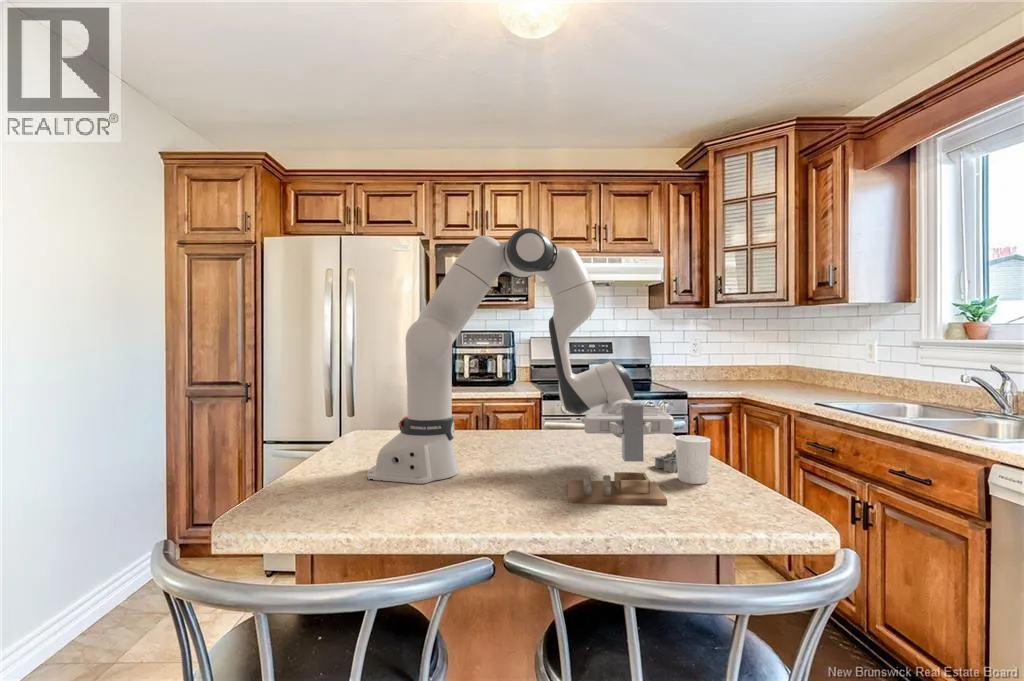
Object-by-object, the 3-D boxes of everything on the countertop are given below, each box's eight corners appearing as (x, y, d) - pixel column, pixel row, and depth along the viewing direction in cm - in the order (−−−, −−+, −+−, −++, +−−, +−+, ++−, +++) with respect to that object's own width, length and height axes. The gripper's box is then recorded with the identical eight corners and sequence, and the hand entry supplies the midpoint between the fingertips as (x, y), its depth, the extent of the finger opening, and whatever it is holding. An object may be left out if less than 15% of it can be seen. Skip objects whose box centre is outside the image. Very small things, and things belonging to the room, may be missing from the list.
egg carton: (682, 463, 138) (682, 448, 138) (702, 470, 131) (702, 454, 131) (649, 466, 134) (650, 451, 134) (668, 474, 127) (668, 457, 127)
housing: (568, 502, 105) (568, 477, 105) (566, 485, 117) (566, 462, 117) (667, 504, 104) (667, 479, 103) (655, 486, 116) (655, 464, 115)
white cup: (715, 485, 117) (715, 441, 117) (681, 485, 117) (681, 442, 117) (703, 475, 125) (703, 435, 124) (671, 475, 125) (671, 435, 125)
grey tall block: (624, 461, 109) (624, 405, 109) (622, 456, 113) (621, 403, 113) (643, 461, 109) (643, 405, 109) (640, 457, 113) (639, 403, 113)
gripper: (580, 406, 124) (584, 415, 111) (665, 406, 123) (680, 415, 109) (581, 431, 125) (584, 444, 111) (665, 432, 123) (680, 445, 109)
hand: (633, 430), depth 110 cm, fingers closed on grey tall block, 4 cm apart
